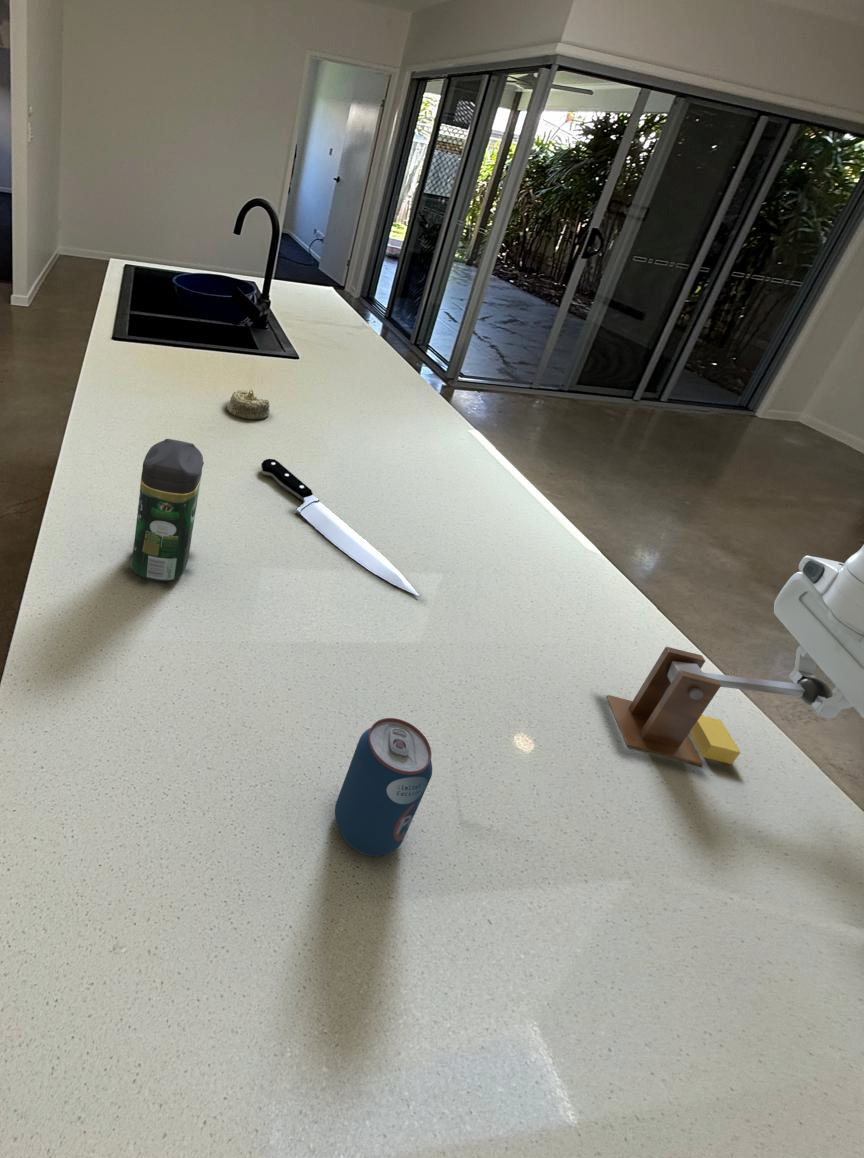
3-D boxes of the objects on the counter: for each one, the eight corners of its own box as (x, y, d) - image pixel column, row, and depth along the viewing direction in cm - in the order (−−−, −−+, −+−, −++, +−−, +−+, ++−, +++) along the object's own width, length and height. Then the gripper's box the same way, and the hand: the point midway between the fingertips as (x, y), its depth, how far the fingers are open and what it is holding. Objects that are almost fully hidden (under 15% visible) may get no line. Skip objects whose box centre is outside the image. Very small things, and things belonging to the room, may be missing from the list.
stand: (671, 718, 86) (715, 651, 81) (698, 770, 79) (748, 700, 74) (603, 700, 86) (642, 633, 81) (623, 751, 79) (668, 680, 74)
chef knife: (402, 608, 97) (405, 596, 96) (248, 473, 124) (249, 462, 123) (426, 596, 100) (429, 584, 99) (271, 466, 127) (272, 456, 126)
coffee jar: (139, 539, 99) (153, 429, 91) (191, 549, 99) (209, 440, 91) (123, 578, 90) (137, 461, 82) (180, 589, 90) (199, 473, 82)
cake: (253, 426, 144) (256, 404, 142) (217, 410, 149) (220, 389, 146) (278, 412, 152) (281, 391, 149) (243, 397, 156) (245, 377, 153)
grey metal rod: (816, 693, 78) (826, 673, 77) (832, 714, 75) (843, 693, 74) (664, 675, 80) (671, 655, 79) (674, 694, 78) (682, 674, 76)
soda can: (401, 873, 61) (441, 788, 55) (328, 851, 61) (360, 765, 56) (400, 805, 67) (435, 723, 62) (334, 786, 67) (363, 703, 62)
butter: (709, 736, 84) (721, 719, 83) (728, 769, 80) (740, 752, 79) (682, 729, 85) (693, 712, 83) (699, 761, 80) (711, 745, 79)
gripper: (990, 684, 61) (900, 782, 67) (848, 560, 80) (788, 646, 86) (920, 667, 62) (837, 766, 68) (795, 548, 80) (739, 634, 86)
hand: (809, 698), depth 77 cm, fingers closed on grey metal rod, 3 cm apart
